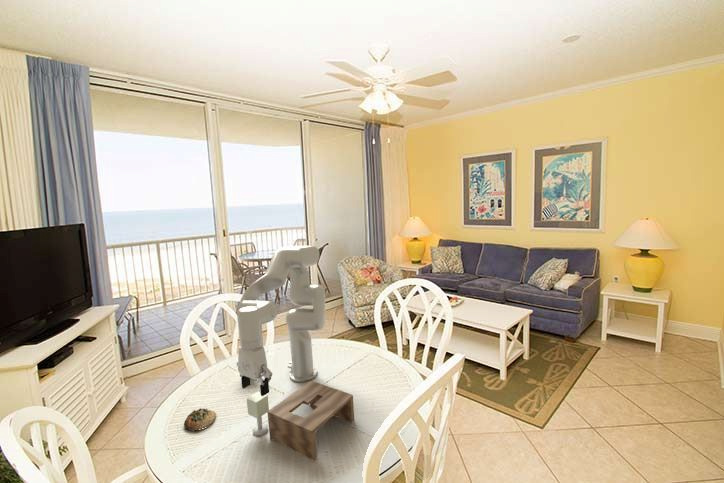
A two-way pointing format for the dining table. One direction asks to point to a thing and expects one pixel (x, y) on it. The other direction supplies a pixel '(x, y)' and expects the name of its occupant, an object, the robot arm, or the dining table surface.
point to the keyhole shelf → (308, 416)
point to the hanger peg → (258, 411)
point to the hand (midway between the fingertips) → (255, 390)
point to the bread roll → (199, 419)
